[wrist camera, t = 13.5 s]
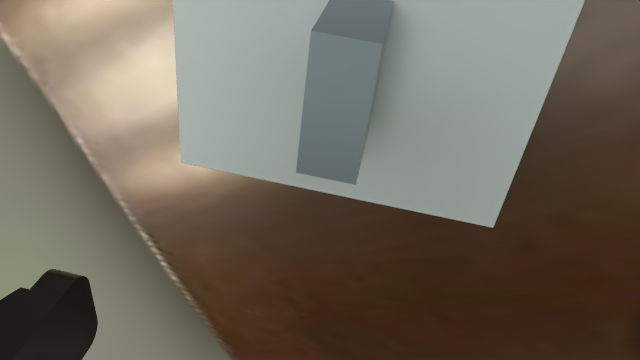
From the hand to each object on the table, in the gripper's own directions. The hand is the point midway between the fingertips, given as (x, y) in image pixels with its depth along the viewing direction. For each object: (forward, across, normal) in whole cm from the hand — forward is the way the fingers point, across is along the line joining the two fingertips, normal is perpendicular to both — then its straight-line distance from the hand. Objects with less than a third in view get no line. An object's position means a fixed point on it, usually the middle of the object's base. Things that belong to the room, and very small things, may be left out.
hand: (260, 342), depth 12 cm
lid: (+17, 0, 0) cm, 17 cm away
